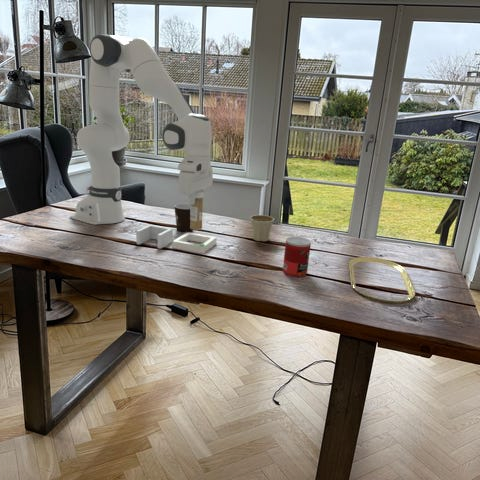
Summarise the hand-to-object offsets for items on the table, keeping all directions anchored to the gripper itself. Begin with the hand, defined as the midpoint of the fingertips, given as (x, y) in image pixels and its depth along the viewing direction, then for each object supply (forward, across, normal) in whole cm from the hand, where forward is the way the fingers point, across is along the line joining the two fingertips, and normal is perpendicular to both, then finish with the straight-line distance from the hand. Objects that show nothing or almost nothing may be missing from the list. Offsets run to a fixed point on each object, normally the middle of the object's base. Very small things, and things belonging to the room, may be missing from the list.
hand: (196, 202), depth 150 cm
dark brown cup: (+16, -16, -12) cm, 26 cm away
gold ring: (+17, -1, +65) cm, 67 cm away
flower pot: (+17, -20, +19) cm, 32 cm away
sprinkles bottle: (+10, 0, 0) cm, 10 cm away
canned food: (+17, +7, +39) cm, 43 cm away
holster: (+16, +5, -14) cm, 22 cm away
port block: (+16, 0, 0) cm, 16 cm away
